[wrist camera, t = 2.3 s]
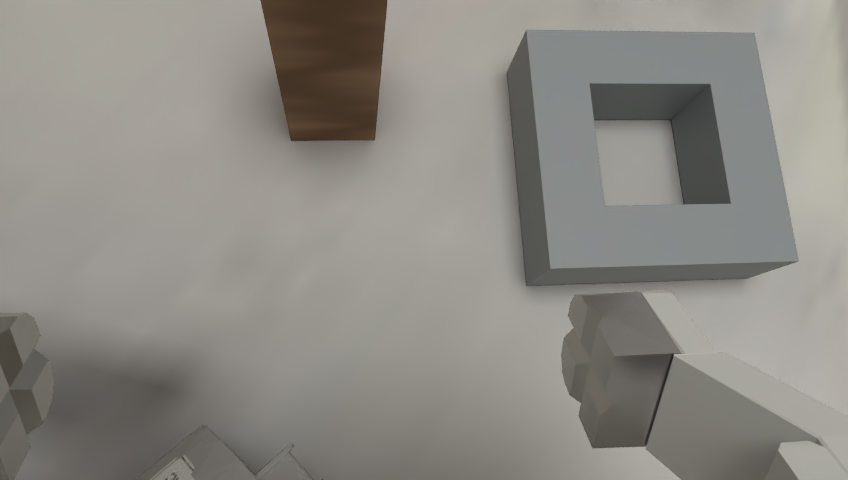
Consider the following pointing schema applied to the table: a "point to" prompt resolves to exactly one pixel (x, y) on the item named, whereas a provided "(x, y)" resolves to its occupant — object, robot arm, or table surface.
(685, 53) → the slate socket
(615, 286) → the table surface
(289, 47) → the walnut peg
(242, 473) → the voltmeter
